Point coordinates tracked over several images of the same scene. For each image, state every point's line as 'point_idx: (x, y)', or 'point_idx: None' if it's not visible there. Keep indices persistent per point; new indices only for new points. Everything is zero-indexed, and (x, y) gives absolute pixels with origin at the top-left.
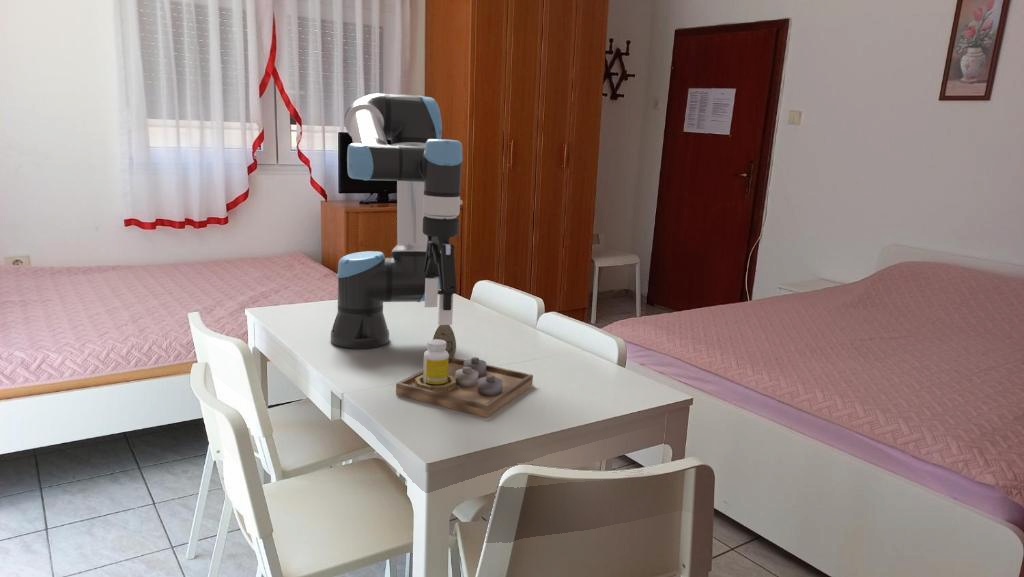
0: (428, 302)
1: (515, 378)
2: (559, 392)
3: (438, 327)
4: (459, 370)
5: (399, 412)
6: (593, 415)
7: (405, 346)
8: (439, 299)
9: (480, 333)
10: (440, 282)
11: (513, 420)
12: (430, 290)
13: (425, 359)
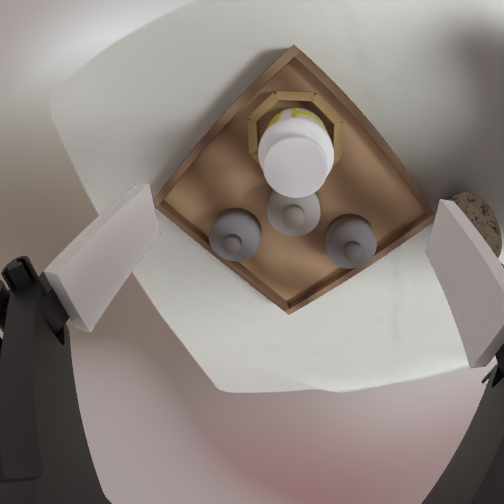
0: (445, 226)
1: (299, 289)
2: (253, 319)
3: (495, 235)
4: (311, 201)
5: (192, 45)
6: (173, 318)
7: None
8: (72, 249)
9: None
10: (19, 329)
11: None
12: (468, 276)
13: (283, 118)
